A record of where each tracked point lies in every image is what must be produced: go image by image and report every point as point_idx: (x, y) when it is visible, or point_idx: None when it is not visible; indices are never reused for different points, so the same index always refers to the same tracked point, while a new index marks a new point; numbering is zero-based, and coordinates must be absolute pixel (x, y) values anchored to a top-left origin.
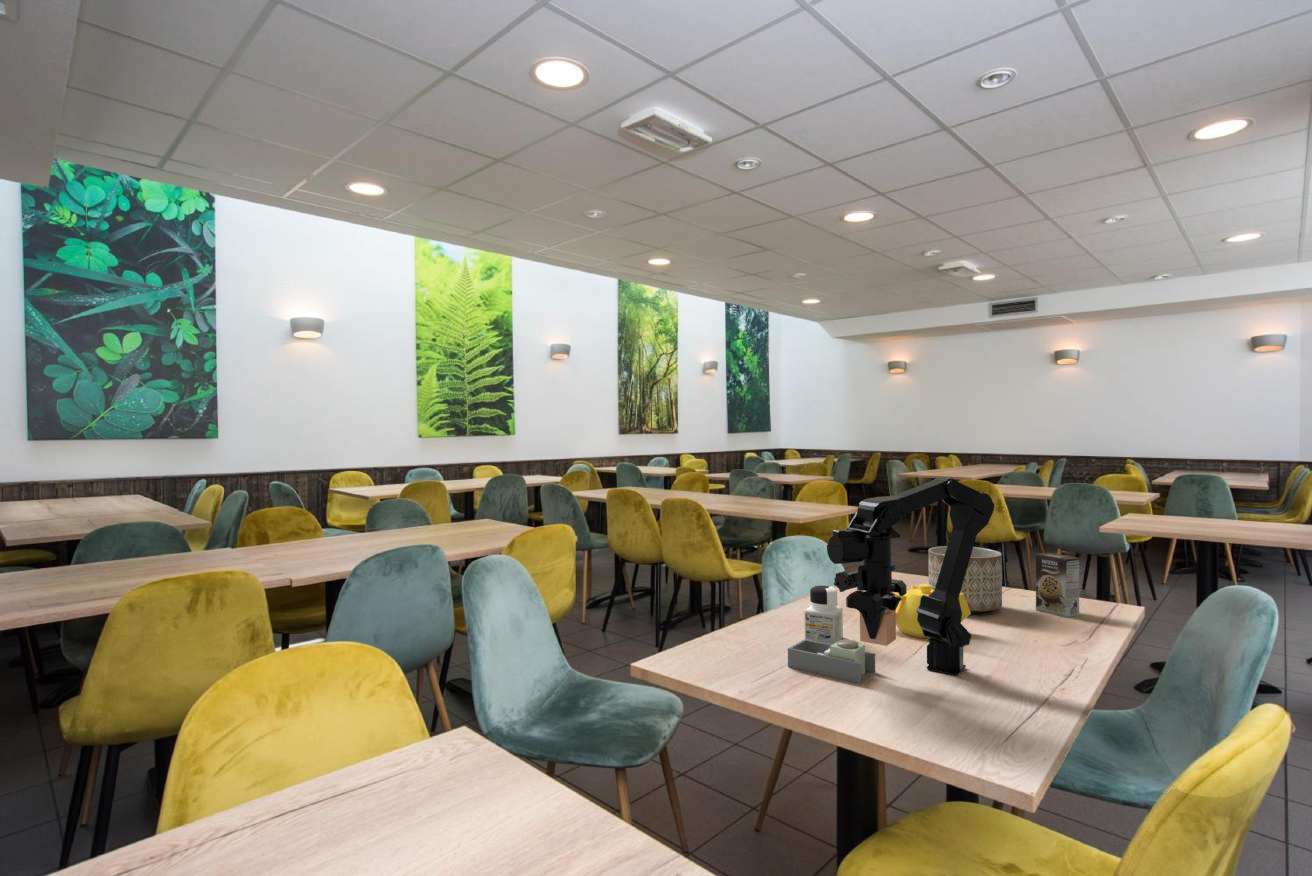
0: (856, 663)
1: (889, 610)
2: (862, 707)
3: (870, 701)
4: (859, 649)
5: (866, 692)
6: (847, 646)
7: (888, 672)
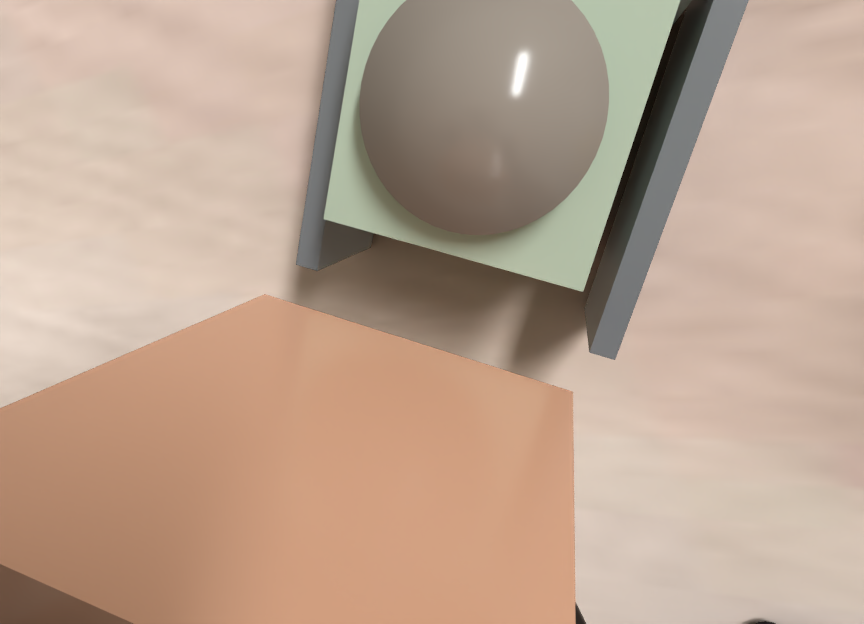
0: (304, 230)
1: None
2: (61, 283)
3: (142, 313)
4: (438, 248)
5: (240, 285)
6: (365, 132)
7: (629, 394)
